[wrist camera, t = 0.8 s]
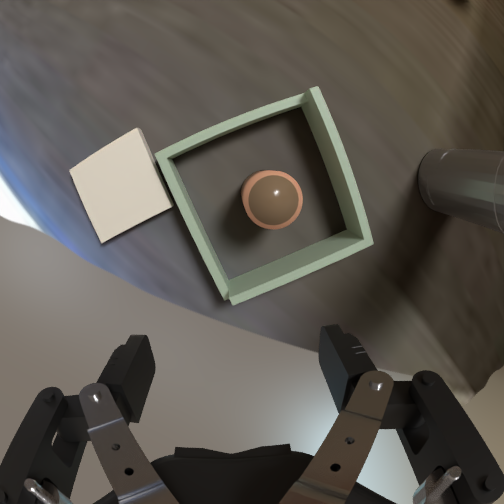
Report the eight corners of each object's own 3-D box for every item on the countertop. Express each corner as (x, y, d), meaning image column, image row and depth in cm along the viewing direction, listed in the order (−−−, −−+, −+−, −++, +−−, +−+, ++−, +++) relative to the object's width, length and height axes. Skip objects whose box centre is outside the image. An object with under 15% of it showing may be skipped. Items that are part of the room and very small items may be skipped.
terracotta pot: (277, 163, 31) (290, 161, 25) (294, 205, 33) (310, 216, 26) (233, 181, 32) (234, 184, 25) (251, 223, 33) (257, 238, 26)
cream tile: (140, 129, 29) (137, 127, 27) (174, 205, 32) (171, 206, 30) (75, 169, 29) (69, 170, 28) (106, 240, 32) (101, 243, 31)
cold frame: (305, 96, 29) (318, 86, 24) (355, 233, 34) (373, 244, 30) (161, 155, 30) (149, 153, 25) (224, 289, 35) (224, 308, 30)
